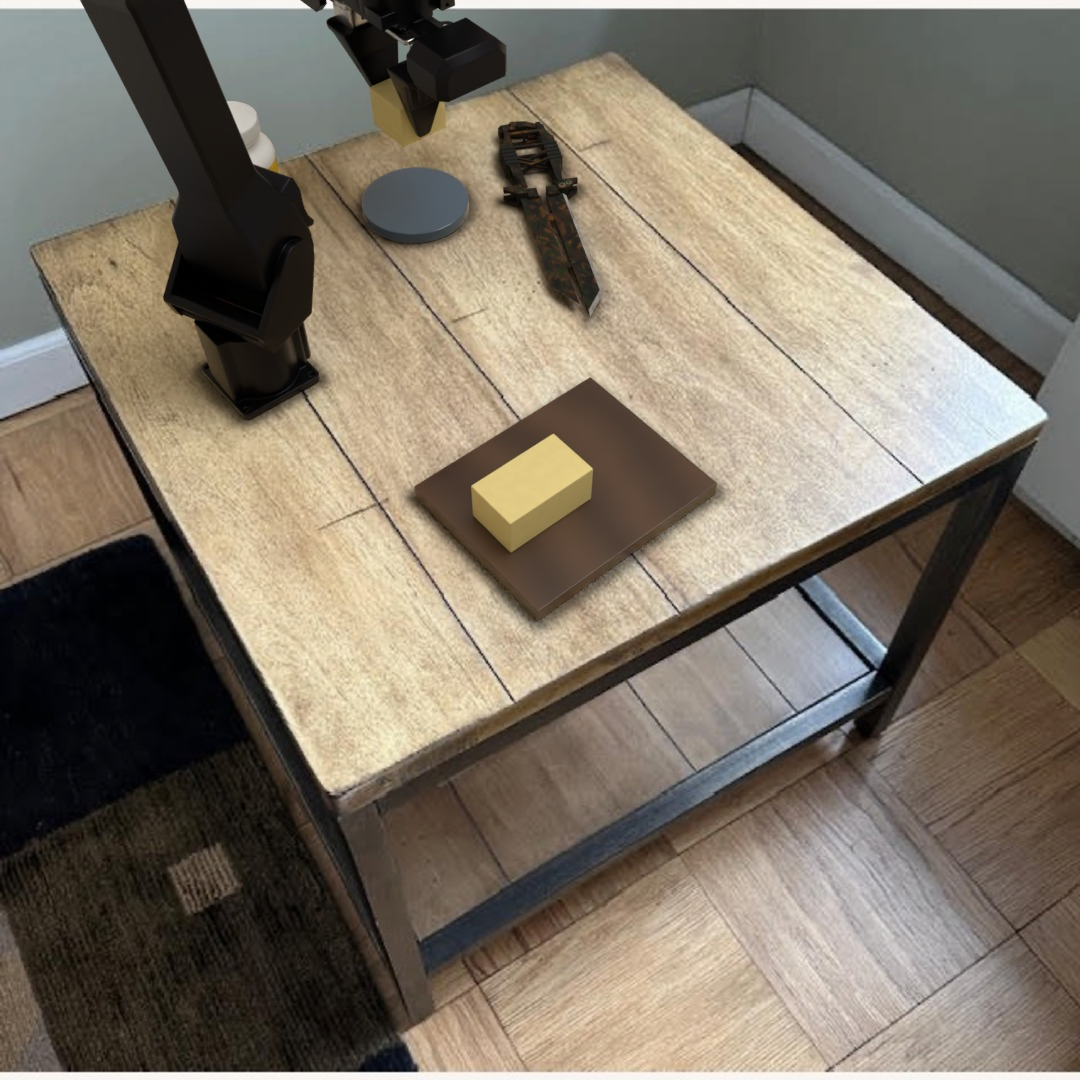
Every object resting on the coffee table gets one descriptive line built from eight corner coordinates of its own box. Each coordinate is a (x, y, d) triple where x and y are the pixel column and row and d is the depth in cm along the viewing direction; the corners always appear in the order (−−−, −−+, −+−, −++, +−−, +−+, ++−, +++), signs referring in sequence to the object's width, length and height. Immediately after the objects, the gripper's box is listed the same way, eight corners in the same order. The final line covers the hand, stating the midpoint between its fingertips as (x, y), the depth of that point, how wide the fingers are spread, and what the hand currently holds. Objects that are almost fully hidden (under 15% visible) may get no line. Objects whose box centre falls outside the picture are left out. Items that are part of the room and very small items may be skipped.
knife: (608, 320, 85) (609, 307, 84) (526, 327, 85) (526, 314, 84) (562, 129, 100) (562, 116, 99) (491, 134, 99) (491, 120, 98)
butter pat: (403, 147, 85) (399, 110, 82) (373, 124, 87) (368, 87, 84) (446, 127, 87) (444, 90, 84) (416, 104, 88) (412, 67, 86)
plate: (404, 258, 89) (403, 248, 89) (341, 204, 93) (340, 194, 93) (490, 213, 93) (490, 203, 92) (426, 163, 97) (425, 153, 96)
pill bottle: (242, 272, 88) (210, 153, 79) (202, 234, 91) (166, 115, 82) (307, 240, 91) (283, 120, 82) (266, 204, 93) (238, 84, 84)
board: (537, 621, 69) (537, 611, 68) (415, 497, 75) (413, 486, 74) (715, 494, 75) (717, 483, 74) (589, 388, 81) (590, 376, 80)
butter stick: (510, 553, 71) (510, 524, 68) (472, 515, 73) (470, 485, 70) (591, 498, 74) (593, 468, 71) (552, 463, 75) (553, 432, 73)
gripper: (568, -70, 73) (562, 138, 85) (402, -165, 81) (419, 37, 93) (433, -15, 68) (448, 195, 81) (272, -122, 77) (309, 84, 89)
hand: (407, 122), depth 86 cm, fingers closed on butter pat, 4 cm apart
